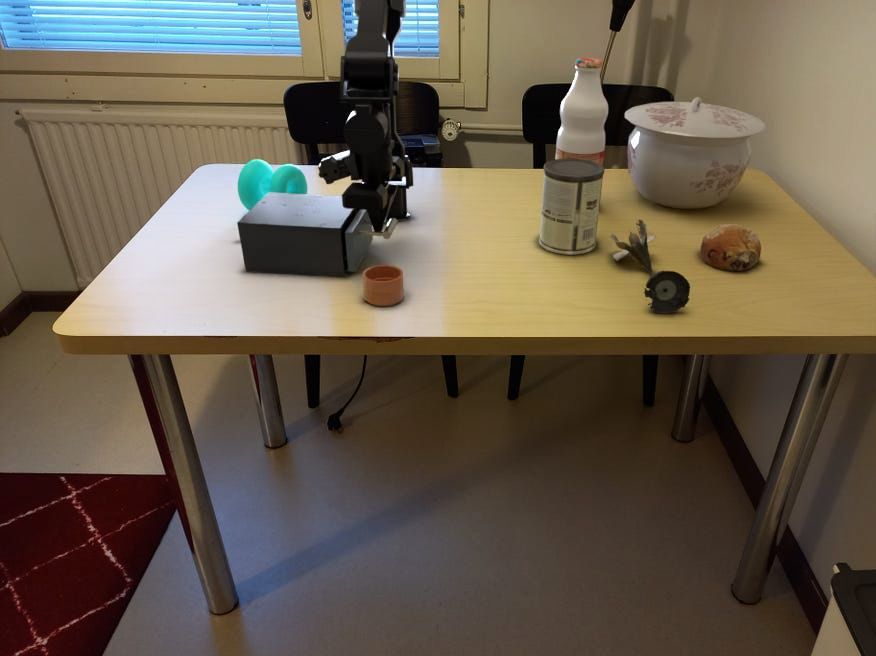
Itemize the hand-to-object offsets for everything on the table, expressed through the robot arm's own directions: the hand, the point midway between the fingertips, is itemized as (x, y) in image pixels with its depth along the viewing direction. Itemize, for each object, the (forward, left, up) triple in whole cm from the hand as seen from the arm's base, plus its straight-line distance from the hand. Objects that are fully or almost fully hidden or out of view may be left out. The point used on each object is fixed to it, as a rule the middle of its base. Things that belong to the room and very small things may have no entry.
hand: (378, 231), depth 114 cm
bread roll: (-54, +28, -5) cm, 61 cm away
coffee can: (-33, +9, -5) cm, 34 cm away
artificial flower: (-35, +27, -5) cm, 44 cm away
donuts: (+9, -29, -5) cm, 31 cm away
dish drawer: (+6, -4, -4) cm, 9 cm away
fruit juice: (-46, -6, -5) cm, 46 cm away
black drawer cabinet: (+10, -7, -5) cm, 14 cm away
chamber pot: (-69, 0, -5) cm, 69 cm away
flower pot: (+5, +13, -5) cm, 15 cm away
